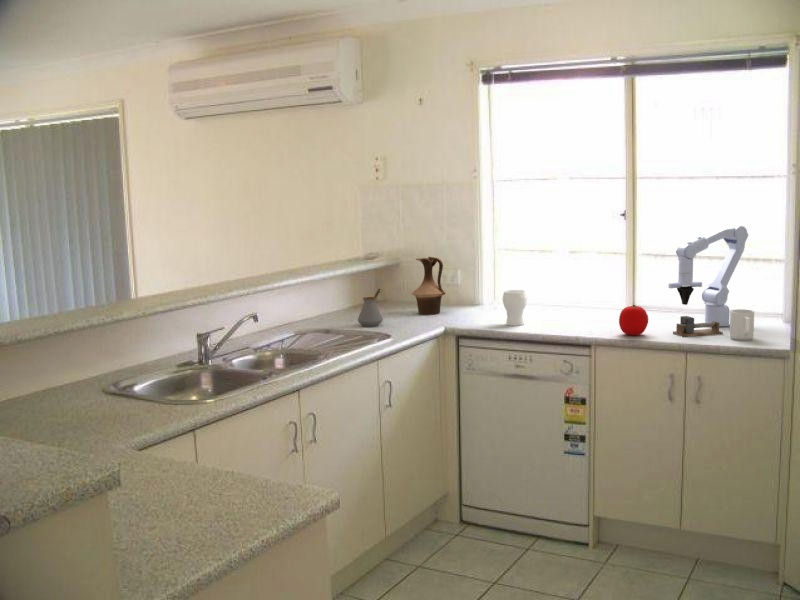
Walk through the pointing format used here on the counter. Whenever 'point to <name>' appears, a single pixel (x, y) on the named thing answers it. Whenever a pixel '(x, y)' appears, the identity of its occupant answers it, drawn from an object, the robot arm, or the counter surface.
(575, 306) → the counter surface
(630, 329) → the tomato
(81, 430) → the counter surface
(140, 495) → the counter surface
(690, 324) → the collar
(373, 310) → the coffee pot
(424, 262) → the pitcher
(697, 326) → the towel rail
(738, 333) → the mug
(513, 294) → the cup
